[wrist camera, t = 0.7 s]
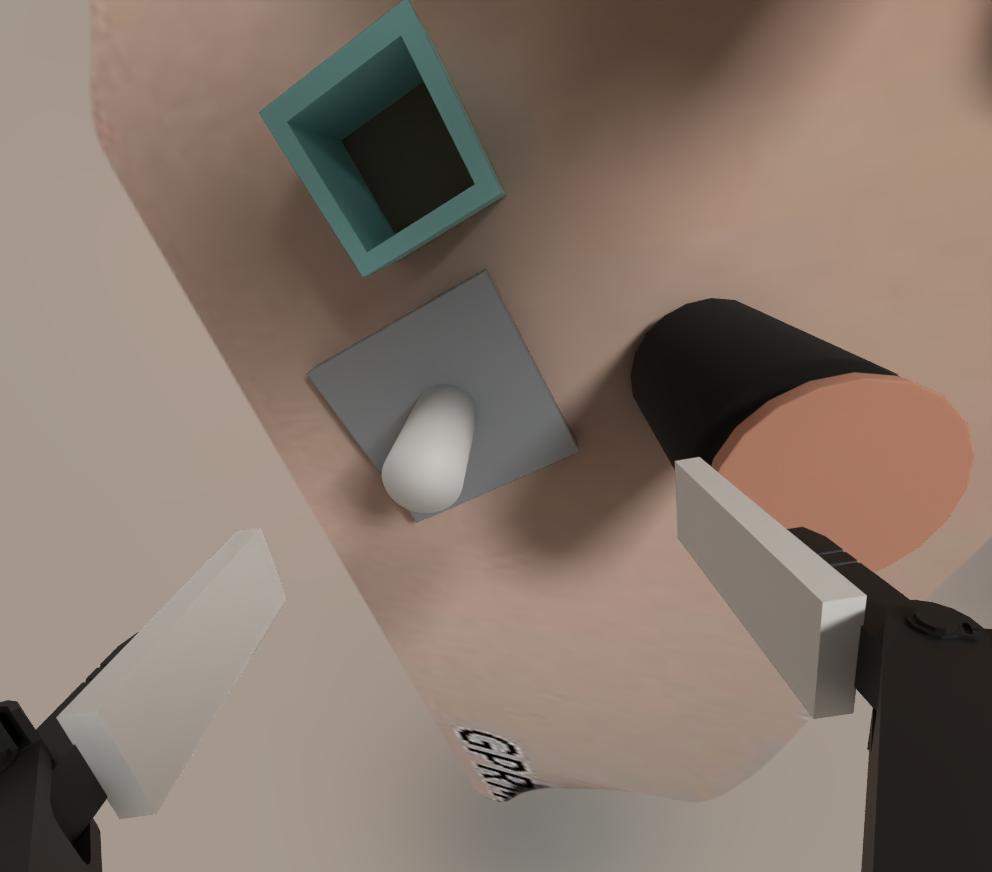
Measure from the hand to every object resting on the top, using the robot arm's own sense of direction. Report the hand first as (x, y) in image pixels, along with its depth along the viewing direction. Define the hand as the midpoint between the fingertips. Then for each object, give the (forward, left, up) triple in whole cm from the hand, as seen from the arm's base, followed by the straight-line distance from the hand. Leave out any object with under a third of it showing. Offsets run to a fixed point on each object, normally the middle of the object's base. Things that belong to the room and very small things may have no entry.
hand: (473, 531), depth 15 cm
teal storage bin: (0, -13, -24) cm, 27 cm away
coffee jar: (-12, +9, -24) cm, 29 cm away
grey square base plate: (+7, +3, -24) cm, 25 cm away
